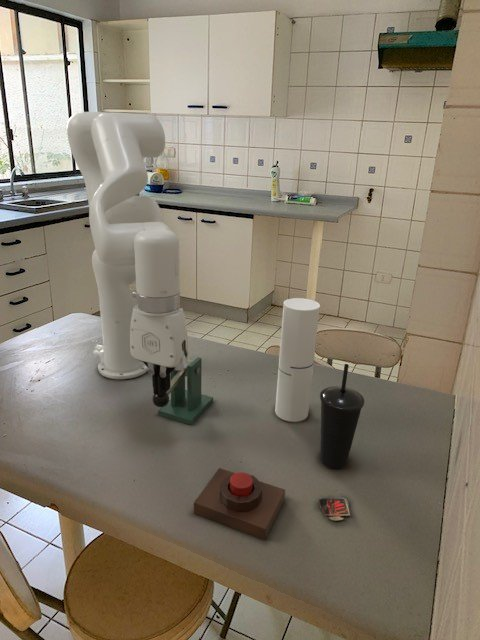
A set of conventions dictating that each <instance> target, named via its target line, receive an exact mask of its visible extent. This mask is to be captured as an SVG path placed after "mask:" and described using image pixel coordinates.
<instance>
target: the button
mask: <svg viewBox="0 0 480 640" xmlns="http://www.w3.org/2000/svg"><path fill="white" fill-rule="evenodd" d="M234 473H235V474H234V475H232V476H231V478H230V491H231V493H232V494H233V495H235V496H238V497H244V496H248V495H249V494H251V492H252V488H253V479H252V477H251V476H250V475H251V474H250V473H247V472H234Z"/></svg>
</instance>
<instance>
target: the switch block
mask: <svg viewBox="0 0 480 640" xmlns="http://www.w3.org/2000/svg"><path fill="white" fill-rule="evenodd" d="M235 473H236V472H233V471H230V470H227V469H224V468H221V467H219V468H218V469H217V470H216V472H215V473H214V474H213V476H212V477H211V479H210V480H209V481H208V483H207V484H206V486H205V487H204V488H203V489H202V491H201V492H200V494H198V497H197V498H196V499H195V500H194V502H193V514H194V515H198V516H200V517H203V518H206V519H208V520H211V521H213V522H216V523H219V524H221V525H224V526H226V527H228V528H232V529H234V530H237V531H240V532H242V533H245V534H247V535H250V536H253V537H256V538H259V539H261V540H262V541H266V540H267V537H268V535H269V533H270V530H271V529H272V527H273V525H274V523H275V520H276V519H277V516H278V514H279V512H280V510H281V508H282V506H283V504H284V502H285V499H286V498H285V497H286V489H285V488H282V487H279V486H275V485H272V484H269V483H266V482H263V481H260V480H259V479H258V478H257V477H256V476H255V475H252V474H249V475H250V476H251V477H252V479H253V488H252V492H251V494H249V495H248V496H244V497H238V496H235V495H233V494H232V493H231V491H230V478H231V476H232V475H234V474H235Z"/></svg>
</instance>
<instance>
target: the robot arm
mask: <svg viewBox="0 0 480 640" xmlns="http://www.w3.org/2000/svg"><path fill="white" fill-rule="evenodd" d="M66 134H67V140H68V145H69V149H70V151H71V154H72V157H73V160H74V162H75V163H76V164H75V165H76V166H77V167H78V169H79V171H80V174H81V176H82V178H83V180H84V185H85V191H86V197H87V203H88V208H89V209H88V219H89V227H90V232H91V236H92V241H93V244H94V245H93V246H94V250H93V252H92V255H91V265H92V266H91V267H92V271H93V275H94V278H95V279H94V280H95V282H96V287H97V292H98V293H97V294H98V302H99V315H100V326H101V327H100V328H101V338H102V344H101V345H100V344H96V345H95V346H94V350H93V351H92V355H93V356H94V357H98V358H100V362H99V363H98V365H97V369H98V374H100V375H101V376H103V377H104V378H106V379H107V378H108V379H111V380H129V379H135V378H137V377H141V376H142V375H144V374H146V373H147V372H148V374H149V375H150V376H151V380H152V381H151V383H152V388H153V390H152V391H153V395H154V394H155V395H157V394H158V395H159V396H162V395H163V394H165V393H166V392H167V391H168V390H169V389H170V381H171V377H170V373H171V372H172V371H173V370H176V371H183V370H184V369H186V368H187V362H186V359H188V357H189V337H188V327H187V321H186V315H185V312H184V308H182V307H181V290H180V288H181V287H180V285H181V284H180V283H181V282H180V239H179V237H178V235H177V234H176V233H175V232H174V231H173V230H171V228H170V227H169V225H168V224H166V223H164V221H163V216H162V211H161V208H160V205H159V204H158V201H156V199H154V198H153V197H151V196H148V195H139V194H140V193H141V192H142V191H143V190H144V189H145V188H146V187H147V185H148V182H149V175H148V171H147V167H146V165H145V162H144V159H143V158H159V157H160V156H161V155H162V154H163V153H164V151H165V147H166V135H165V130H164V127H163V125H162V123H161V121H160V120H159V118H157V117H156V116H155V115H153V114H150V113H149V114H148V113H132V112H116V111H113V112H109V111H108V112H107V111H81V112H77V113H75V114H72V115H71V116H70V117H69V118H68V121H67V123H66ZM132 284H135V288H136V290H133V289H132V288H130V285H132Z"/></svg>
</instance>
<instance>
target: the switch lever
mask: <svg viewBox="0 0 480 640" xmlns="http://www.w3.org/2000/svg"><path fill="white" fill-rule="evenodd" d="M192 361H194V359H190V358H186V362H187V365H189V364H190V363H191V362H192ZM183 376H185V378H187V368H186V369H184V370H183V371H178V373H177V374H176V375H175V376H174V377H173V379H172V380H171V379H170V389H169V390H168V391H167V392H166V393H165V394H163V395H162V396H159V395H158V394H157V395H155V394H154V393H153V395H152V403H153V405H154V406H155V407H156V408H159V409H160V408H161V407H165V406H166V405H167V404H168V402H169V400H170V395H171V391H172V390H173V389H174V388H175V386H176V385H177V384H178V383H179V381H180V380H181V379H182V377H183Z"/></svg>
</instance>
